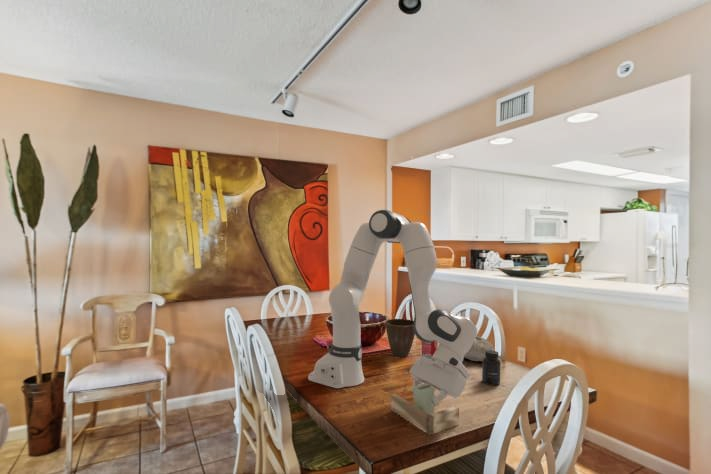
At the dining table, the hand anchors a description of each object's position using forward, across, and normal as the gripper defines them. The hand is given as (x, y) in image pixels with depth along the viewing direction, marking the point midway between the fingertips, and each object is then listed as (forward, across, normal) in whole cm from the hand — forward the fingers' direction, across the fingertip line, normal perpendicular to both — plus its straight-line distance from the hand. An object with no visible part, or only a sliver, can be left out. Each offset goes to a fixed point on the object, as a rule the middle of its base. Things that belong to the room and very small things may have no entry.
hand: (423, 397), depth 117 cm
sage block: (+4, 0, +4) cm, 6 cm away
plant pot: (-19, -52, +28) cm, 62 cm away
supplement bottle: (-26, -8, +35) cm, 44 cm away
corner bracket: (+4, 0, +5) cm, 6 cm away
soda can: (-22, -37, +31) cm, 53 cm away
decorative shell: (-38, -30, +47) cm, 67 cm away
